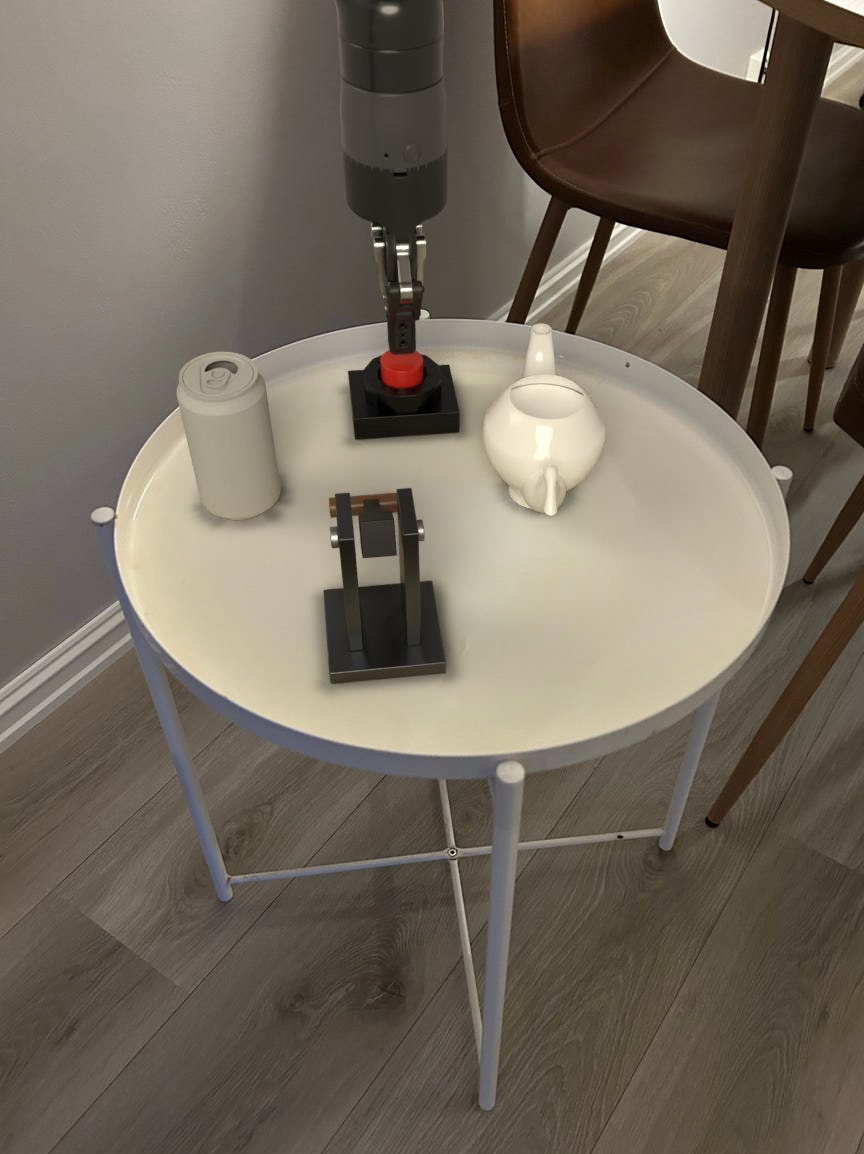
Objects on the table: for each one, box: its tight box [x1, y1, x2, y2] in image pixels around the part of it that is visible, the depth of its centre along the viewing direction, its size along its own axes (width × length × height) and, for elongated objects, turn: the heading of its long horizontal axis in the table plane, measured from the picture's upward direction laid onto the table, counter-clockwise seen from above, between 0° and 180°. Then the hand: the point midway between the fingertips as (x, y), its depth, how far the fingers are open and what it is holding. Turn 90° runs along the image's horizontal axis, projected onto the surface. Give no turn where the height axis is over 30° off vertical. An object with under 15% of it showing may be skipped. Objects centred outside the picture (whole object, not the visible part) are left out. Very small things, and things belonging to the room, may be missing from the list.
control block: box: [347, 353, 461, 441], centre depth 93 cm, size 9×7×4 cm
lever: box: [328, 492, 398, 559], centre depth 73 cm, size 11×6×2 cm, turn 8°
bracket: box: [322, 487, 447, 685], centre depth 72 cm, size 8×8×12 cm
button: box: [380, 349, 423, 388], centre depth 91 cm, size 4×4×2 cm
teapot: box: [481, 323, 607, 516], centre depth 84 cm, size 10×20×9 cm, turn 0°
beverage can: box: [176, 351, 282, 521], centre depth 81 cm, size 6×6×12 cm
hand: (402, 349), depth 89 cm, fingers closed
